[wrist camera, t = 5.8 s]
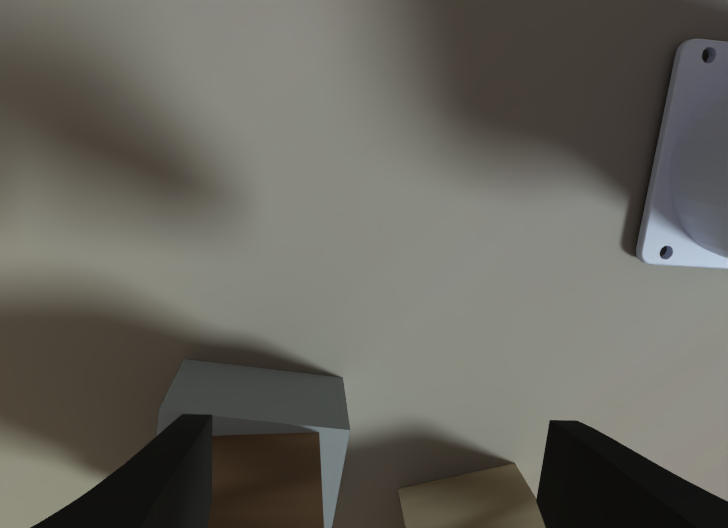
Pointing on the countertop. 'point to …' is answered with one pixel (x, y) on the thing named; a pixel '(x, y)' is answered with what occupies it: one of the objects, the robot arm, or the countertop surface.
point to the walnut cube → (266, 481)
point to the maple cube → (472, 501)
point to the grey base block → (266, 409)
